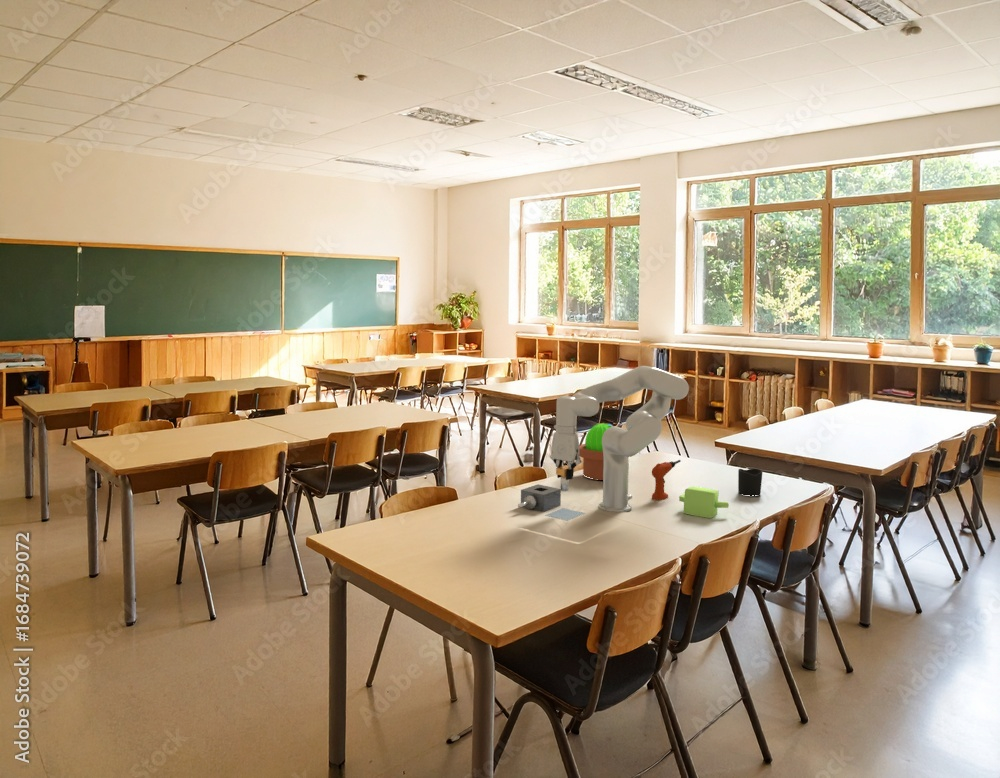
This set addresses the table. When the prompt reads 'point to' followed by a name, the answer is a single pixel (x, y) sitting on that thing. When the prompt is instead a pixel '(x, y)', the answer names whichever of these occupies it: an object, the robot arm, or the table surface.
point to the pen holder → (749, 481)
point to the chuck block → (540, 497)
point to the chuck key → (563, 477)
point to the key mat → (565, 514)
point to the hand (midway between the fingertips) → (565, 477)
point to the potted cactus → (594, 452)
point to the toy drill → (661, 478)
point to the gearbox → (701, 502)
